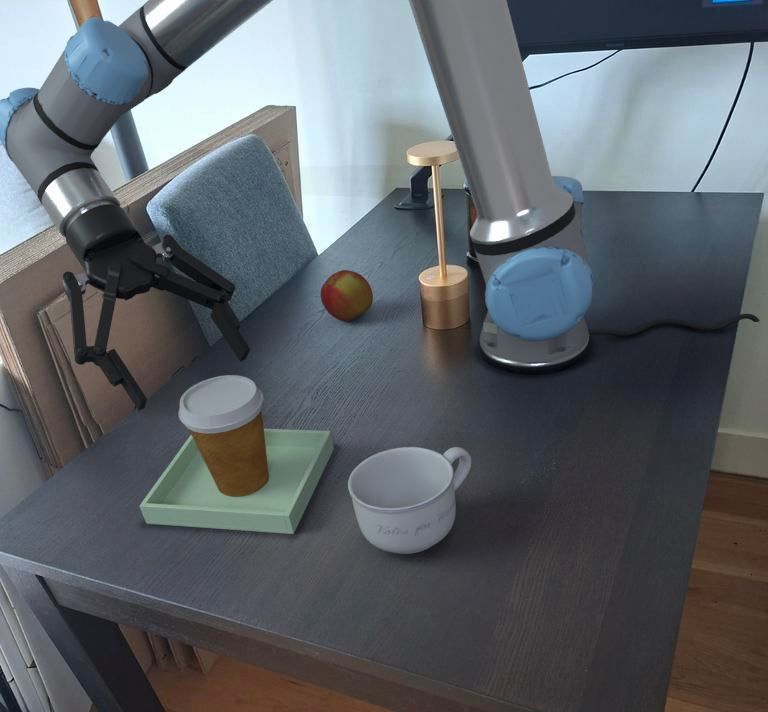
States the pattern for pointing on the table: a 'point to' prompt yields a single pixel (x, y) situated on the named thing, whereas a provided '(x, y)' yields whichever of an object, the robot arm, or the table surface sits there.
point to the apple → (346, 295)
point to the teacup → (407, 496)
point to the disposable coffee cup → (228, 432)
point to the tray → (251, 512)
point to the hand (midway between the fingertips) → (196, 379)
